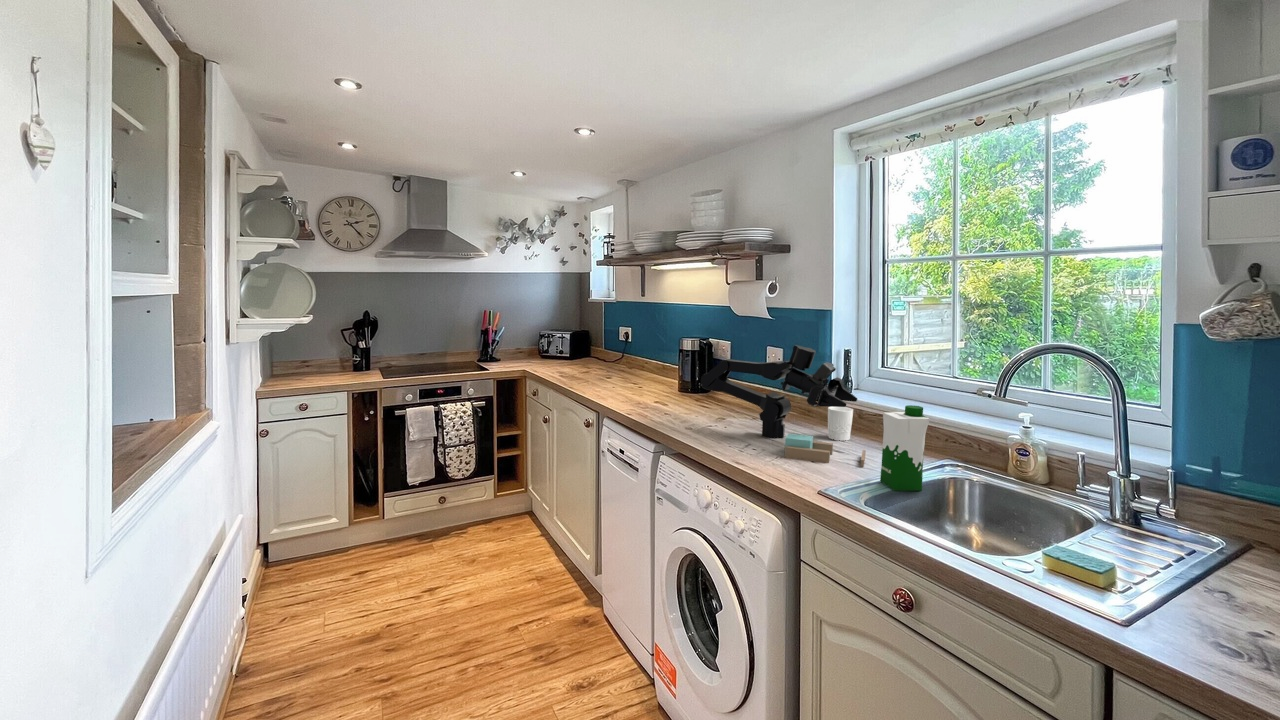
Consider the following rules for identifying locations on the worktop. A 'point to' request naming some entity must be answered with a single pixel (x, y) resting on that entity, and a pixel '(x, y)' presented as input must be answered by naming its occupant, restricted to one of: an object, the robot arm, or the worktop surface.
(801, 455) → the chute
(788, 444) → the block
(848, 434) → the white cup
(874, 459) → the worktop surface
